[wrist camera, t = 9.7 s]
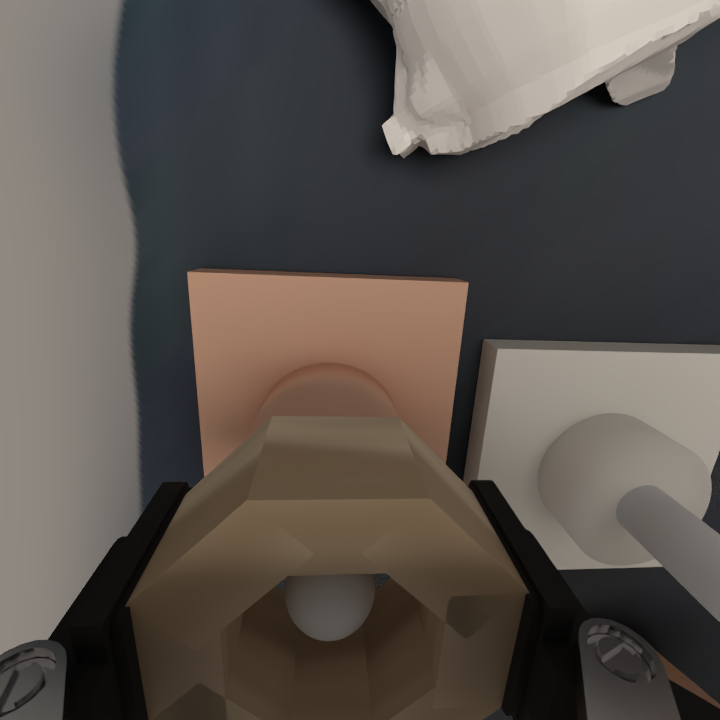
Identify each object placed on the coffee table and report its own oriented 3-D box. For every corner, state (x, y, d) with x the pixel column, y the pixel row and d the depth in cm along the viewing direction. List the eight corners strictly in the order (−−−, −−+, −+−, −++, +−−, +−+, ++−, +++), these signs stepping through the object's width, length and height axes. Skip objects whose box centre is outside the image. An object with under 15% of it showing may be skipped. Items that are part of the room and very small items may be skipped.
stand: (654, 543, 21) (837, 717, 14) (453, 548, 20) (529, 738, 13) (719, 344, 18) (1009, 427, 10) (483, 339, 17) (611, 425, 9)
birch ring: (450, 637, 12) (490, 770, 9) (201, 647, 11) (156, 794, 8) (483, 417, 9) (551, 496, 7) (178, 414, 9) (106, 501, 6)
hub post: (427, 524, 20) (521, 796, 10) (219, 528, 19) (109, 830, 9) (455, 278, 16) (643, 343, 7) (200, 268, 15) (-11, 327, 6)
